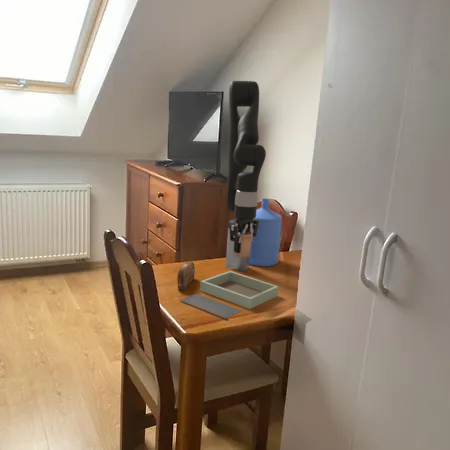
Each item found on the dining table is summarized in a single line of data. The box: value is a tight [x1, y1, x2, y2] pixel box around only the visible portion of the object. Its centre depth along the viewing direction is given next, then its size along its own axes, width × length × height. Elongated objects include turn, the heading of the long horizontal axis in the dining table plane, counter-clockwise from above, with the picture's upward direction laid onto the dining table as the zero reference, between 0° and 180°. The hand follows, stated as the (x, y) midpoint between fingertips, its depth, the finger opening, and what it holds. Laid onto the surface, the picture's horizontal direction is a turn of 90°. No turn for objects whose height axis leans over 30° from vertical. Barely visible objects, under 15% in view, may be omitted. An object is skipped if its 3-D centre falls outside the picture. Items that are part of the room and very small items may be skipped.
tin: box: [176, 261, 196, 291], centre depth 176 cm, size 15×3×8 cm, turn 168°
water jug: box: [249, 198, 283, 267], centre depth 209 cm, size 16×16×28 cm
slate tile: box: [180, 293, 243, 322], centre depth 159 cm, size 8×20×1 cm, turn 51°
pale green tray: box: [199, 270, 280, 310], centre depth 171 cm, size 17×22×4 cm
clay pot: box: [234, 232, 253, 257], centre depth 167 cm, size 6×6×8 cm
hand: (242, 250), depth 168 cm, fingers closed on clay pot, 5 cm apart
